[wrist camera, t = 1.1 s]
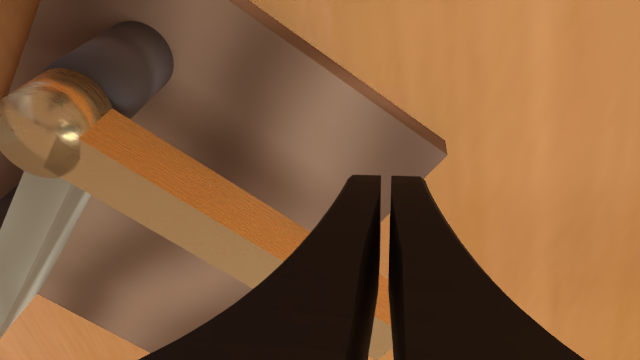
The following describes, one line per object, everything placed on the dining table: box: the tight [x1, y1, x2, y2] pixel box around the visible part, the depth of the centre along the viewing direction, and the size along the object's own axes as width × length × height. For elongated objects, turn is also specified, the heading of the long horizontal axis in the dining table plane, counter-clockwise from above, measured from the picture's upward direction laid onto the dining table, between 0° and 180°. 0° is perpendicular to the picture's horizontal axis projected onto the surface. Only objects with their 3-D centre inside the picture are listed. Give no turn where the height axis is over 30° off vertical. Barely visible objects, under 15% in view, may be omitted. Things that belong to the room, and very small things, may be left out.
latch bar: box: [0, 68, 393, 360], centre depth 16 cm, size 14×3×2 cm, turn 56°
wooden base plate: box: [0, 0, 447, 353], centre depth 22 cm, size 16×20×8 cm
